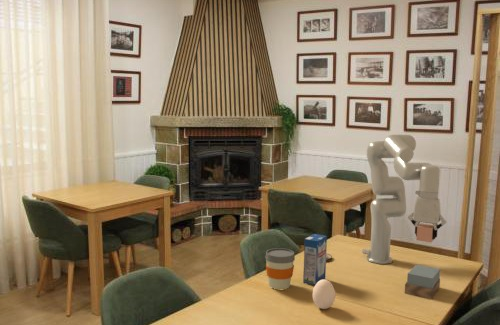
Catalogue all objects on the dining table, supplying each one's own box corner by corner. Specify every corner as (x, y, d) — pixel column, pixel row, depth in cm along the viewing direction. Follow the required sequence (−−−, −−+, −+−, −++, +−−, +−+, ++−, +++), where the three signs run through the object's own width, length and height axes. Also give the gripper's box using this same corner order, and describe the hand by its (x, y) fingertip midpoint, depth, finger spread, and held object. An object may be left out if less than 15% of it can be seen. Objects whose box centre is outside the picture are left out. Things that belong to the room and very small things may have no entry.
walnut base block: (404, 294, 205) (405, 284, 204) (413, 283, 217) (414, 273, 217) (431, 300, 199) (432, 289, 198) (439, 288, 212) (440, 278, 211)
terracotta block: (416, 240, 204) (417, 226, 204) (420, 236, 209) (420, 223, 209) (431, 242, 201) (432, 228, 200) (434, 239, 206) (435, 225, 205)
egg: (319, 314, 183) (320, 285, 182) (307, 305, 191) (308, 277, 189) (339, 310, 186) (340, 282, 185) (326, 302, 194) (327, 274, 193)
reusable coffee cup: (298, 283, 213) (299, 250, 211) (287, 293, 202) (288, 258, 200) (271, 278, 219) (272, 246, 217) (260, 288, 207) (260, 254, 205)
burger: (333, 263, 242) (333, 248, 241) (309, 262, 242) (309, 248, 241) (329, 255, 254) (330, 241, 253) (306, 255, 254) (307, 241, 253)
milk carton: (316, 286, 211) (317, 241, 208) (303, 283, 214) (304, 238, 212) (325, 279, 219) (327, 235, 217) (312, 276, 223) (314, 233, 220)
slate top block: (407, 283, 205) (407, 273, 204) (415, 274, 216) (416, 264, 216) (431, 289, 199) (432, 278, 199) (439, 278, 211) (440, 268, 210)
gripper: (405, 194, 204) (402, 235, 207) (448, 199, 195) (445, 243, 197) (409, 191, 210) (407, 231, 213) (452, 196, 201) (449, 238, 204)
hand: (425, 236), depth 205 cm, fingers closed on terracotta block, 6 cm apart
